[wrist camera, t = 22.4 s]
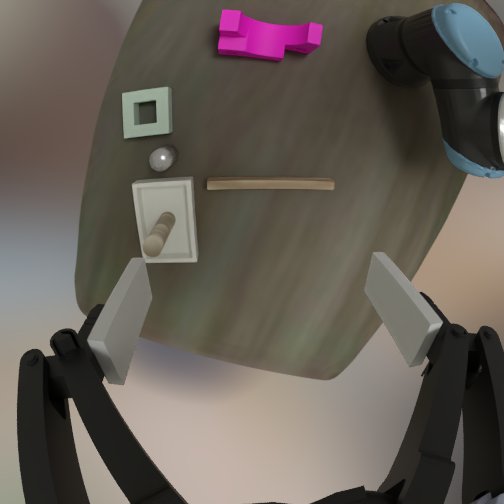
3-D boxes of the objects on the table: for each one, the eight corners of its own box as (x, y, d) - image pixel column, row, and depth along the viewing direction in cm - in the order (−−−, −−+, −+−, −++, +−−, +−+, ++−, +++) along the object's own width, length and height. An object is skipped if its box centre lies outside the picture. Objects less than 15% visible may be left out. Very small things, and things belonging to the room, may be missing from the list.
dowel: (159, 212, 51) (141, 239, 40) (174, 211, 51) (160, 238, 40) (161, 227, 52) (144, 257, 42) (176, 226, 52) (162, 256, 42)
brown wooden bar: (208, 177, 49) (206, 181, 47) (329, 177, 51) (334, 181, 48) (208, 185, 50) (207, 189, 47) (328, 185, 51) (334, 189, 49)
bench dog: (157, 145, 46) (148, 150, 41) (177, 144, 46) (170, 148, 41) (159, 165, 48) (150, 172, 42) (178, 163, 48) (171, 170, 42)
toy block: (219, 54, 39) (216, 44, 33) (224, 23, 37) (222, 9, 30) (306, 66, 41) (318, 59, 34) (310, 36, 38) (322, 25, 32)
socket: (128, 94, 41) (122, 93, 38) (171, 88, 41) (167, 86, 39) (129, 136, 45) (124, 138, 42) (172, 132, 45) (168, 133, 42)
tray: (137, 180, 48) (131, 184, 46) (193, 176, 49) (190, 180, 46) (147, 255, 56) (143, 262, 53) (198, 254, 56) (197, 261, 53)
